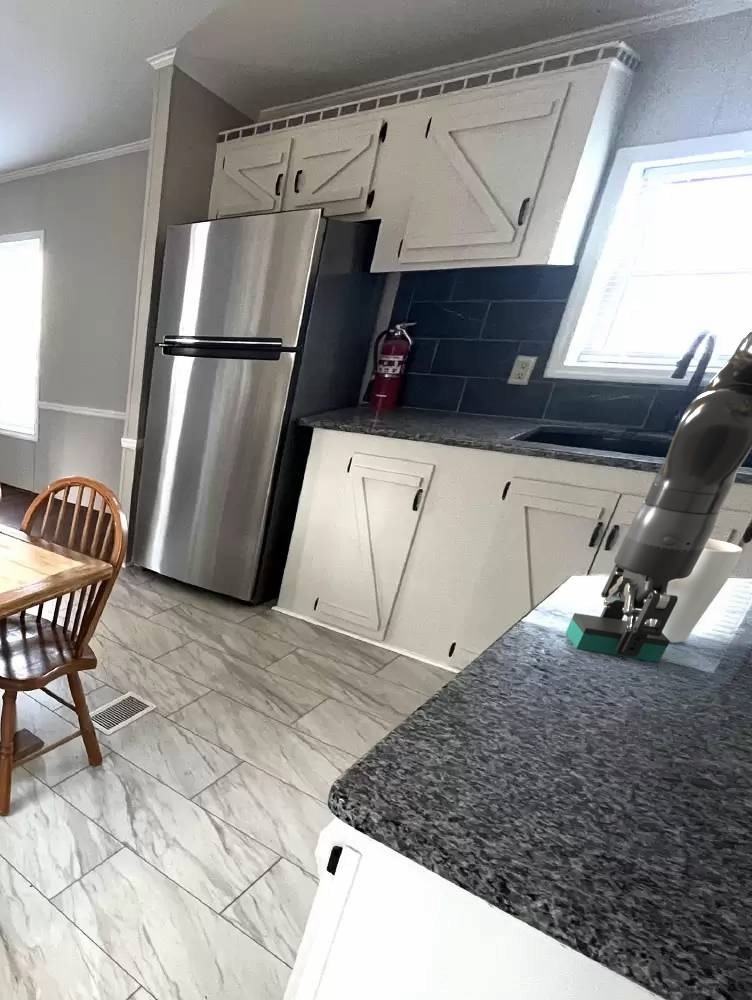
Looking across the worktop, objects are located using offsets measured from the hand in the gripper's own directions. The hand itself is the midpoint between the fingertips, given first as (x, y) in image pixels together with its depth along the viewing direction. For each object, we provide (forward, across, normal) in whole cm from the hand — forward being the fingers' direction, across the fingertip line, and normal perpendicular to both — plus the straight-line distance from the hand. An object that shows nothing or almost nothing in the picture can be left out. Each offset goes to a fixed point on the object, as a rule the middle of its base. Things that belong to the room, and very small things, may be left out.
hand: (614, 642), depth 94 cm
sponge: (+1, 0, 0) cm, 1 cm away
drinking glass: (+1, +8, -8) cm, 11 cm away
